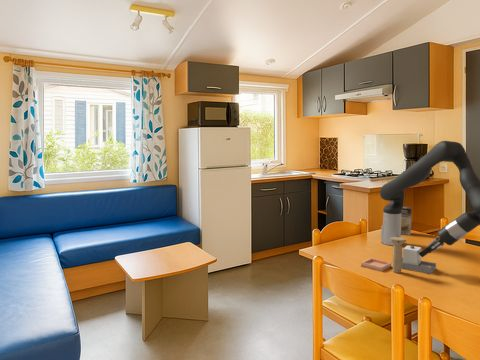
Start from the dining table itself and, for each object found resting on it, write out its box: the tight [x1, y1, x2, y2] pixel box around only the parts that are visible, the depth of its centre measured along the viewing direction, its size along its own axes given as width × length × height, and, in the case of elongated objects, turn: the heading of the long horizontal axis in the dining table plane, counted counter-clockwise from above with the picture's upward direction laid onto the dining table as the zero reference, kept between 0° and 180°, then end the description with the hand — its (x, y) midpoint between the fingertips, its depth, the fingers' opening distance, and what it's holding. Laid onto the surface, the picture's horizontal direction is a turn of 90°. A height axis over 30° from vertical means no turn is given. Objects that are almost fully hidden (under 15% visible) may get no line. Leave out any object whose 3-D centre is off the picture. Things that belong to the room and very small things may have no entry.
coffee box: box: [401, 206, 413, 236], centre depth 233 cm, size 9×6×16 cm
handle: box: [390, 236, 407, 274], centre depth 169 cm, size 5×6×15 cm
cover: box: [402, 245, 422, 265], centre depth 174 cm, size 6×7×8 cm
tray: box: [360, 257, 392, 272], centre depth 177 cm, size 10×9×2 cm
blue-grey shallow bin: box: [401, 256, 437, 275], centre depth 174 cm, size 14×8×2 cm, turn 51°
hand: (420, 255), depth 172 cm, fingers closed
